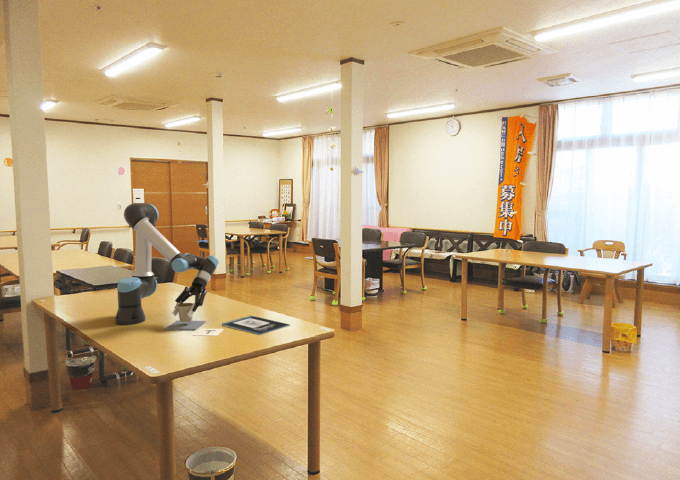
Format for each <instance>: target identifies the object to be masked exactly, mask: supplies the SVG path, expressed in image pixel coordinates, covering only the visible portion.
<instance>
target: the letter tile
mask: <svg viewBox="0 0 680 480" xmlns="http://www.w3.org/2000/svg"><path fill="white" fill-rule="evenodd" d="M224 330H225V328H200V329H199V330H198V331H196V332H194V334H193V335H192V336H198V337H199V336H205V337H207V336H208V337H218V336H219V334H220V335H221V333H222V332H223V331H224Z"/></svg>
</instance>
